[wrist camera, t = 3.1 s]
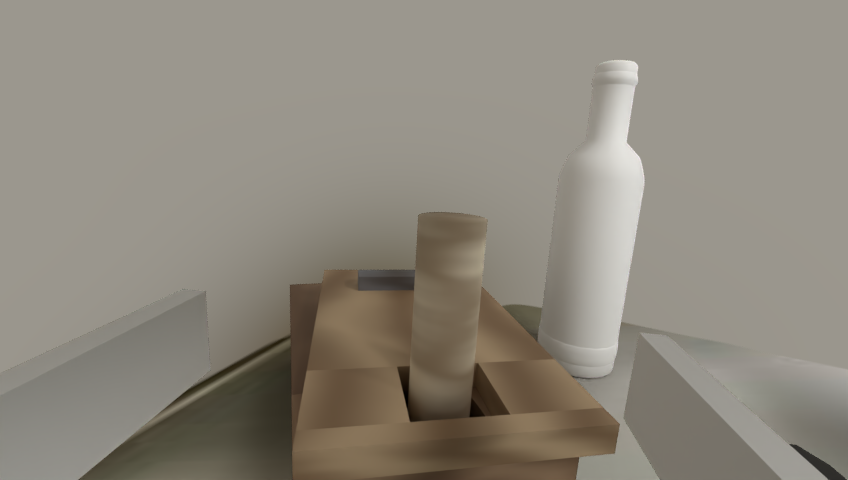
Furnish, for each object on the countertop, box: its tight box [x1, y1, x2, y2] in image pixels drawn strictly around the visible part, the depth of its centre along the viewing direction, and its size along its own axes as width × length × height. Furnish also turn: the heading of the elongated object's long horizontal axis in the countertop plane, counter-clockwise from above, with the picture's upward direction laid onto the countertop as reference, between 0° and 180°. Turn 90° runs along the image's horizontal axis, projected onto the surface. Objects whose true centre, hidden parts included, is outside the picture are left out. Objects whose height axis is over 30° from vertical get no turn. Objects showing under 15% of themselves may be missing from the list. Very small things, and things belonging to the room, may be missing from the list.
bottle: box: [538, 60, 645, 378], centre depth 40 cm, size 8×8×30 cm
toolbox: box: [290, 283, 579, 480], centre depth 30 cm, size 14×24×8 cm, turn 18°
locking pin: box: [408, 212, 488, 422], centre depth 20 cm, size 3×3×14 cm
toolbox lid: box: [292, 270, 620, 480], centre depth 28 cm, size 14×24×3 cm, turn 11°
